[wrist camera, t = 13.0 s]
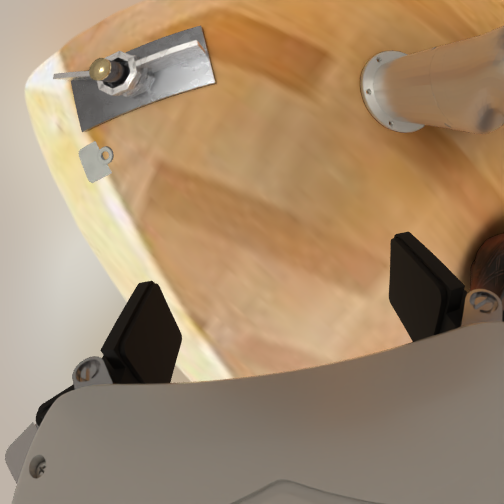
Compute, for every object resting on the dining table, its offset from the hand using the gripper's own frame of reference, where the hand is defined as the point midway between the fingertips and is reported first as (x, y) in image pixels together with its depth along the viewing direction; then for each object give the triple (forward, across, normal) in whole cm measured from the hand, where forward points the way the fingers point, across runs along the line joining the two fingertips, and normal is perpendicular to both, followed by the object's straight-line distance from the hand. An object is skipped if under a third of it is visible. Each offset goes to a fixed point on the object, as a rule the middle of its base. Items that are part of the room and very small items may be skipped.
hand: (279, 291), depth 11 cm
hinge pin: (+29, +14, -17) cm, 37 cm away
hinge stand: (+30, +14, -17) cm, 37 cm away
